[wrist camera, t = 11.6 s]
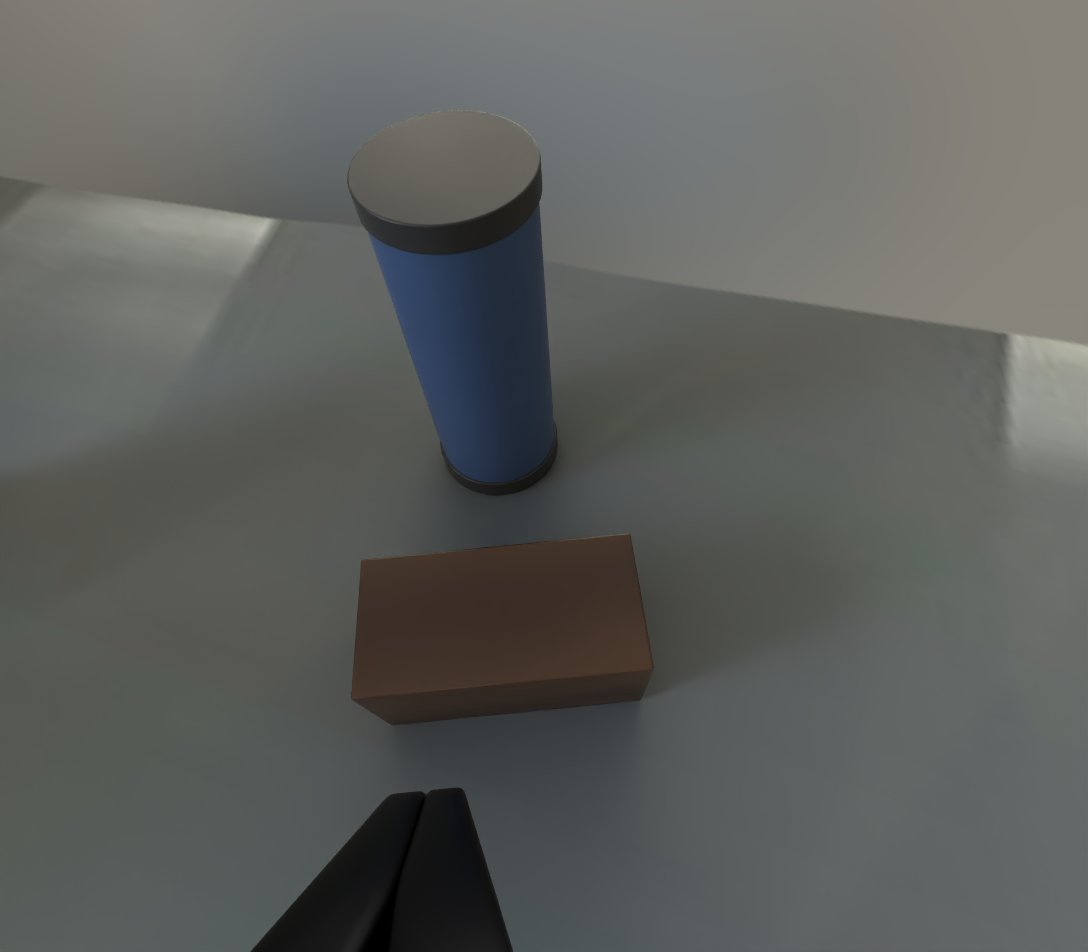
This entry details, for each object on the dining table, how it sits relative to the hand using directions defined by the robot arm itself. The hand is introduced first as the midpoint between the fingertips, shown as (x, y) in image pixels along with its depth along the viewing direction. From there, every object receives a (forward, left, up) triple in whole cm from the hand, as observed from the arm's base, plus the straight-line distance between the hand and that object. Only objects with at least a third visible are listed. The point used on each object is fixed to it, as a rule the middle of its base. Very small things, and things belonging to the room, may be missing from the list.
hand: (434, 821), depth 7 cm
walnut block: (+1, -5, -13) cm, 14 cm away
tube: (+4, -13, -7) cm, 15 cm away
